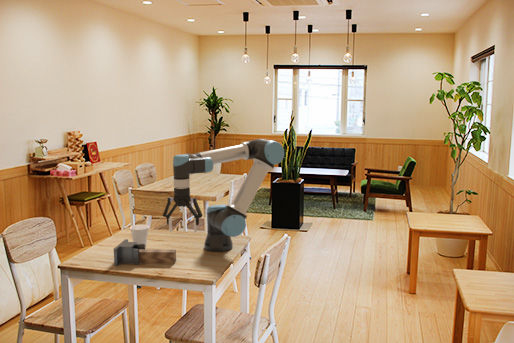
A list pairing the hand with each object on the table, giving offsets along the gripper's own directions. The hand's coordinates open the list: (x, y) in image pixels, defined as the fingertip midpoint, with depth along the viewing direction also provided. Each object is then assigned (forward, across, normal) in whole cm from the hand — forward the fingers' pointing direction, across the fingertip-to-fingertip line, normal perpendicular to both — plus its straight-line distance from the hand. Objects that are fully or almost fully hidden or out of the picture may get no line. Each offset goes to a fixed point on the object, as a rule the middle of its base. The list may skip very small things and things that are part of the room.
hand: (183, 231), depth 245 cm
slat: (+16, +13, 0) cm, 21 cm away
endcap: (+16, +27, 0) cm, 31 cm away
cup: (+16, +30, -22) cm, 40 cm away
